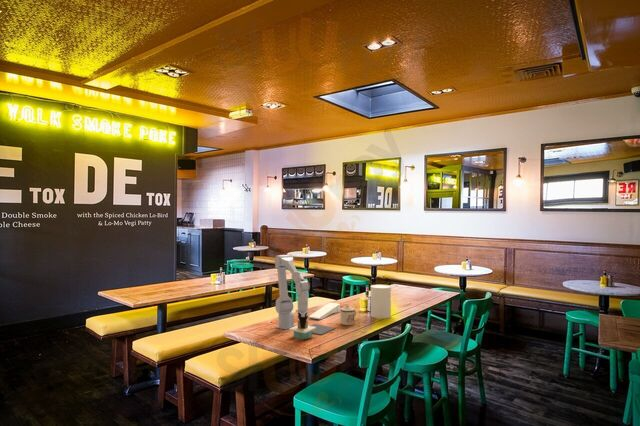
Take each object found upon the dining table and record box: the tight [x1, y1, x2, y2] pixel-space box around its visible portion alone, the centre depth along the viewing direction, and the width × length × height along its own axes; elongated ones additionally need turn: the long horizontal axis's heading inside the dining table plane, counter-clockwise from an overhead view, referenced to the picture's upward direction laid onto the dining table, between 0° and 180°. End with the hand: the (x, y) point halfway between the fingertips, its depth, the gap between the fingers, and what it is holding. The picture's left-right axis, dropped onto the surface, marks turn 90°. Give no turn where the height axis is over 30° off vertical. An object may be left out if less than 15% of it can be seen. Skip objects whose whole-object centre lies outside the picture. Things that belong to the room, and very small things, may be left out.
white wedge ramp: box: [307, 302, 341, 320], centre depth 265 cm, size 10×7×28 cm
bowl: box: [293, 331, 313, 340], centre depth 217 cm, size 10×10×4 cm
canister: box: [370, 283, 392, 320], centre depth 261 cm, size 14×14×20 cm
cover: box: [288, 319, 316, 333], centre depth 217 cm, size 11×11×5 cm
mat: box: [310, 323, 336, 336], centre depth 230 cm, size 15×15×1 cm
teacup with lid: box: [340, 304, 357, 326], centre depth 244 cm, size 12×9×12 cm
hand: (302, 326), depth 217 cm, fingers closed on cover, 6 cm apart
